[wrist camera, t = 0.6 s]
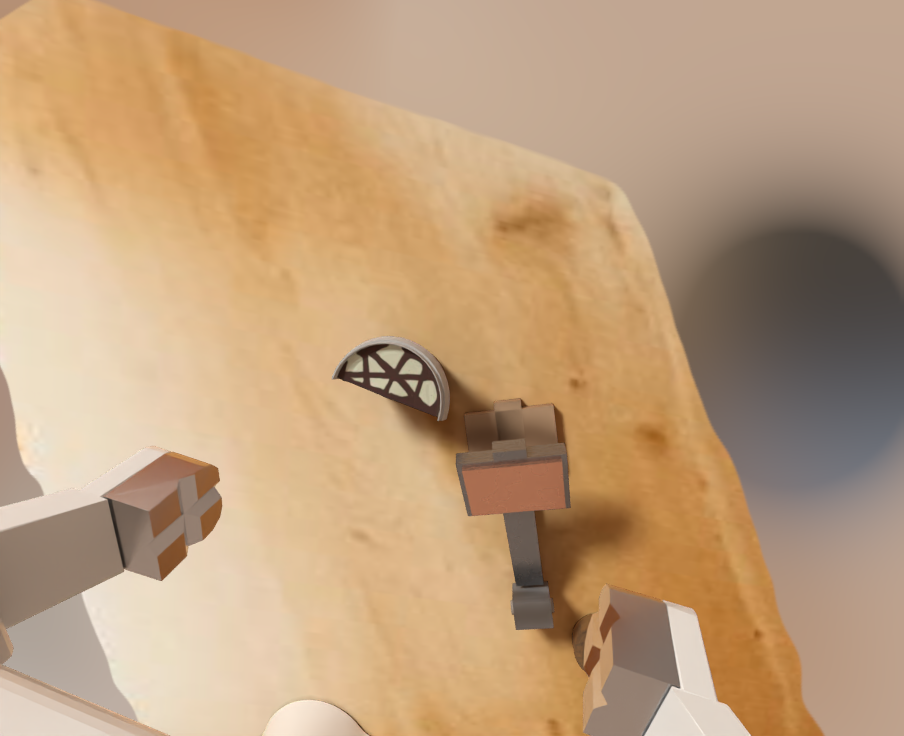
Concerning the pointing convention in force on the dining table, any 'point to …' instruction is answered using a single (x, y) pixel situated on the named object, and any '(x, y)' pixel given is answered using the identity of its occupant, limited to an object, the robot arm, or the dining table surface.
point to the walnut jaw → (537, 429)
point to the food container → (398, 373)
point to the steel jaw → (516, 494)
